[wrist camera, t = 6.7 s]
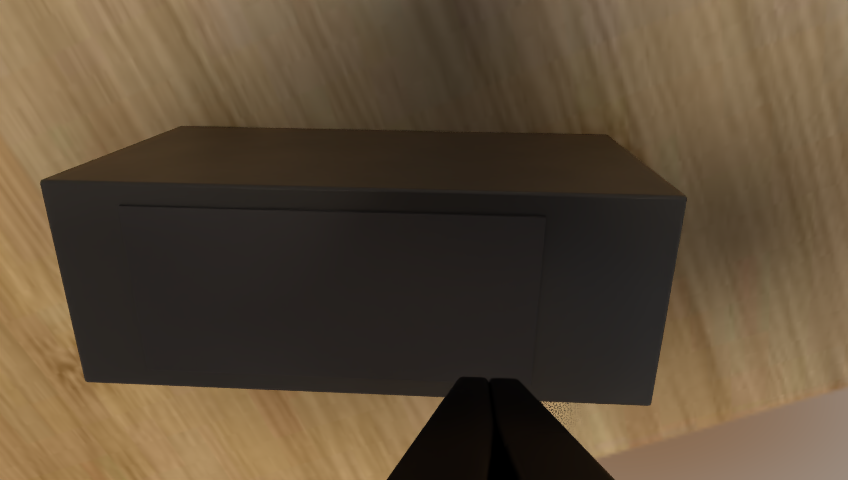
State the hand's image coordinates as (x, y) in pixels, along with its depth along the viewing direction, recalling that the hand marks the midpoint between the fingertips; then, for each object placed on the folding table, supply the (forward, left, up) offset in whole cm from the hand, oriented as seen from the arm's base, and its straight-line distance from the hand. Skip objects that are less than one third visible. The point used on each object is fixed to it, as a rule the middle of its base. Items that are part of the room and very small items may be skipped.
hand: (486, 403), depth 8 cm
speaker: (-4, 0, -6) cm, 7 cm away
